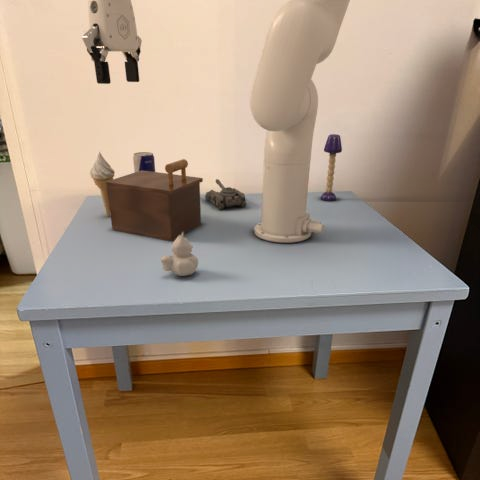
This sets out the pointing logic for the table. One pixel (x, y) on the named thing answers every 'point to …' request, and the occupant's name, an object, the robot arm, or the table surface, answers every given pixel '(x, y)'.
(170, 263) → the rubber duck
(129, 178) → the chest lid
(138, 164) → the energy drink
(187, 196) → the chest
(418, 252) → the table surface
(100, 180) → the ice cream cone
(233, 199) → the tank toy
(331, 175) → the toy lamp
